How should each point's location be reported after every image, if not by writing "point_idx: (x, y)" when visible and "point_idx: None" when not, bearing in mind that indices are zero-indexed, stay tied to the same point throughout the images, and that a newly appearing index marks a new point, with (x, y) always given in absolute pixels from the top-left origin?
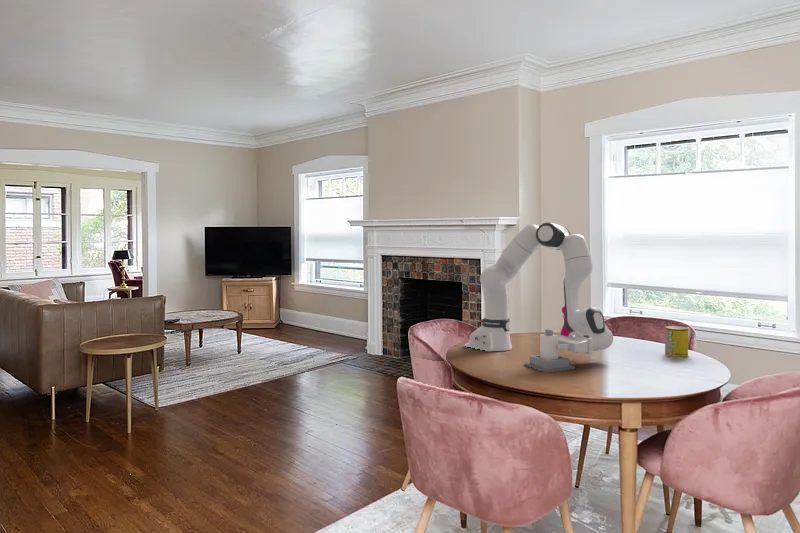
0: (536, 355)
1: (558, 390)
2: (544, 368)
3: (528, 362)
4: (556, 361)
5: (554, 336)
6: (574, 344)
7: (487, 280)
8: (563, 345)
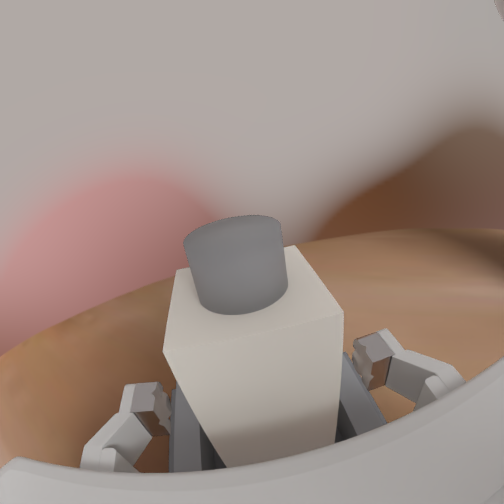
0: (346, 373)
1: (34, 343)
2: None
3: (352, 367)
4: (176, 437)
5: (170, 318)
6: (19, 456)
7: (496, 5)
8: (112, 423)
